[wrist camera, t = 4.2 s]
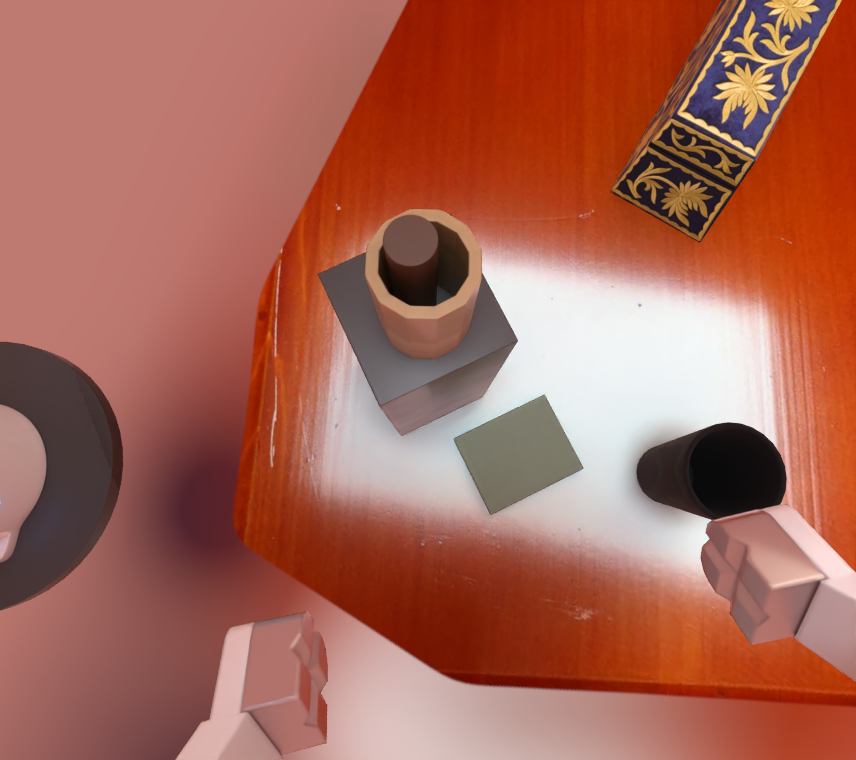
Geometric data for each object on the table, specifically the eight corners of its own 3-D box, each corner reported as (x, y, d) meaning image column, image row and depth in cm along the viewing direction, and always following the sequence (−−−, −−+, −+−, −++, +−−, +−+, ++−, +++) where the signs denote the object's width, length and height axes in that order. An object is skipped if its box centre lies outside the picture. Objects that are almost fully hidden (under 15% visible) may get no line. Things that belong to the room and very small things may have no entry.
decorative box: (814, 30, 60) (880, -47, 51) (700, 242, 55) (751, 197, 47) (727, -11, 61) (777, -93, 52) (608, 194, 57) (641, 141, 48)
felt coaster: (490, 514, 51) (491, 514, 50) (453, 439, 52) (453, 438, 51) (582, 468, 51) (583, 468, 51) (543, 395, 53) (544, 394, 52)
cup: (705, 438, 52) (786, 427, 40) (705, 518, 50) (789, 531, 39) (626, 431, 52) (684, 418, 40) (624, 510, 51) (683, 521, 39)
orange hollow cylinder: (407, 374, 31) (399, 339, 23) (366, 299, 32) (345, 240, 24) (485, 333, 31) (503, 285, 23) (443, 260, 32) (446, 190, 24)
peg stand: (401, 436, 52) (358, 377, 22) (363, 355, 54) (273, 195, 23) (482, 396, 53) (552, 286, 22) (443, 318, 54) (458, 114, 24)
